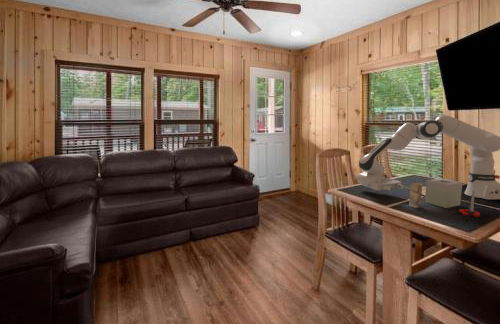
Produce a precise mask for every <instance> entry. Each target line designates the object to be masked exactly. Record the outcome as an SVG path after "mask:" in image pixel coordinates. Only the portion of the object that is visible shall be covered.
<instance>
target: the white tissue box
mask: <svg viewBox="0 0 500 324" xmlns="http://www.w3.org/2000/svg"><path fill="white" fill-rule="evenodd" d="M425 184H426V185H425V196H424V203H427V204H430V205H433V206H437V207H441V208H444V209H447V208H452V207H458V206H460V205H461V199H462V192H463V191H462V189H463V182H461V181H455V180H451V179H446V178H441V177H440V178H434V179H428V180H426V183H425Z"/></svg>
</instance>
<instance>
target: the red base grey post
mask: <svg viewBox="0 0 500 324" xmlns="http://www.w3.org/2000/svg"><path fill="white" fill-rule="evenodd" d="M474 192H475V191H473V192H472V196H470V197H471V198H470V204H469V208H468V209H466V208H465V209H463V208H462V209H459V210H458V212H459V213H461V214H462V215H463V216H468V217H469V216H470V217H476V218H479V217H480V215H481V213H480V212H479V211H476V210H475V209H474V208H475V207H474V205H475V198H476V197H475V195H474Z"/></svg>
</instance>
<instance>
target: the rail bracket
mask: <svg viewBox="0 0 500 324" xmlns="http://www.w3.org/2000/svg"><path fill="white" fill-rule="evenodd" d="M409 188H410V189H409V199H408V201H409V202H408V206H409V207H410V208H413V209H414V208H415V209H417V208H418V209H419V208H421V204H422V194H423V183H418V182H411V183H410V187H409Z"/></svg>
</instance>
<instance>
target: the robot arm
mask: <svg viewBox="0 0 500 324" xmlns="http://www.w3.org/2000/svg"><path fill="white" fill-rule="evenodd" d="M440 133H441V134H444V135H445V136H448V137H449V138H452V139H454V140H456V141H457V142H460V143H463V144H465V145H468V146H469V148H470V149H469V150H470V151H469V152H470V170H469V172H468V177H467V181H468V182H467V185H466V189H465V191H464V192H463V194H465V195H466V196H469V197H471V196H472V192H473V191H475V192H474V195H475V197H474V198H481V199H484V200H500V182H499V181H497V180H499V179H500V175H498V174H494V170H495V169H494V167H495V159H494V156H493V153H494V152H498V151H500V136H499V135H497V134H495V133H493V132H491V131H488V130H485V129H482V128H480V127H477V126H475V125H472V124H470V123H466V122H464V121H463V120H460V119H458V118H456V117H453V116H450V115H445V114H440V115H438V116H437V117H436V118H435V119H434V120H426V121H423V122H421V123H419V124H414V123H413V122H405V123H404V124H402V125H401V126H400V127H399V128H398V129H397V130H396V131H395V132H394V133H393V134H392V135H391V136H389V137H385V138H384V139H382V140H381V141H379V142H378V143H377V144H376V145H375V146H374V147H373V148H371V149H370V151H368V152H367V153H366V154H365V155H363V156H362V157H360V159H359V162H358V167H359V169H361V170H362V172H360V173H359V172H358V174H357V177H356V181H357V183H358V184H360V185H361V186H363V187H366V188H370V189H372V190H375V191H393V190H392V189H402V190H403V189H404V185H403V183H402V181H400V180H397V179H394V178H391V177H389V176H383V175H384V173H385V166H383V165H382V164H381V163H379V161H377V160H376V159H377V158H378V157H379V156H380V155H381V154H382V153H383V152H384V151H386V150H392V151H402V150H405V148H407V147H408V146H409V145H410V143H411V142H412V141H413V140H414V139H415V138H416V139H418V140H429V139H431V138H435V137H436V136H438V135H439V134H440ZM496 179H497V180H496Z"/></svg>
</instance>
